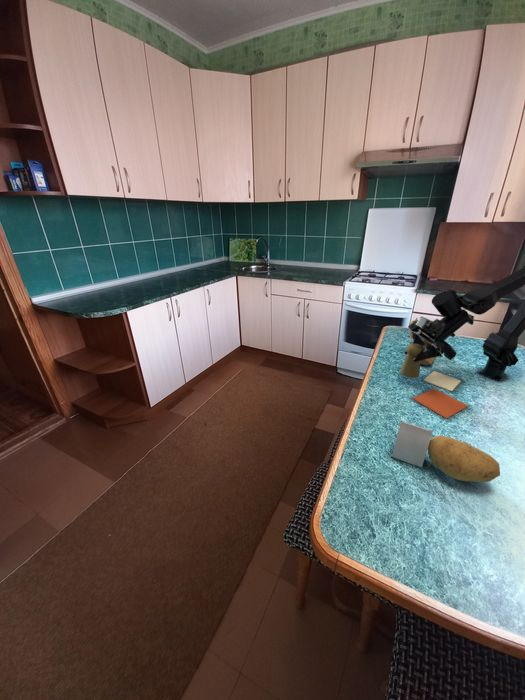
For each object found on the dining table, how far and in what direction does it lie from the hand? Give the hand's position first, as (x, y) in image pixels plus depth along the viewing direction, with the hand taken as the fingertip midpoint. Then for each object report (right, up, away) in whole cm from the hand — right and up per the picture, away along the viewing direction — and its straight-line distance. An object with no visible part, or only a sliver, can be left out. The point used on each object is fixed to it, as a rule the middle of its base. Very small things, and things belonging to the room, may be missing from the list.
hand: (409, 357), depth 98 cm
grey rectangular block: (-13, -25, -25) cm, 38 cm away
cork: (+2, -6, +3) cm, 7 cm away
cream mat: (+14, -9, +4) cm, 17 cm away
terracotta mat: (+6, -14, -7) cm, 17 cm away
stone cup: (+14, 0, +20) cm, 24 cm away
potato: (-4, -27, -30) cm, 40 cm away
